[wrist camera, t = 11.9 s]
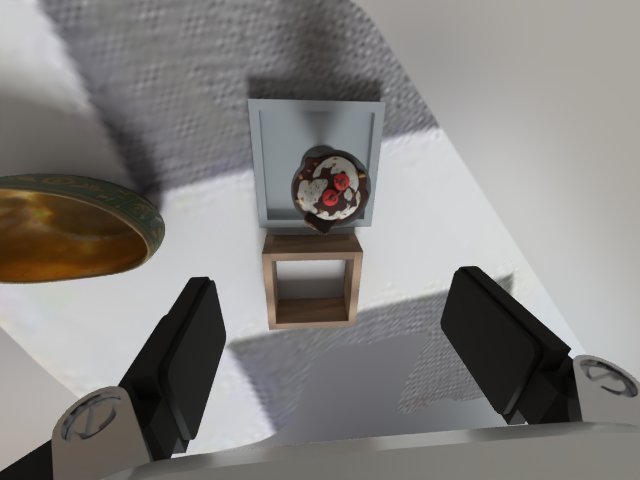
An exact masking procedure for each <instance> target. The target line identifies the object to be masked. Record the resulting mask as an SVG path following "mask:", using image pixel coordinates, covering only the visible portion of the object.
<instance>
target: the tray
mask: <svg viewBox="0 0 640 480" xmlns="http://www.w3.org/2000/svg"><path fill="white" fill-rule="evenodd" d="M385 105H386V102H357V101H317V100H277V99H248V108H249V119H250V130H251V141H252V151H253V162H254V173H255V184H256V194H257V205H258V216H259V227H260V228H292V227H310V226H309V225H308V224H306V223H305V222H304V219H303V218H302V217H301V216H300V215H299V213H298V212H297V210H296V208H295V207H294V204H293V200H292V196H291V183H292V179H293V176H294V174H295V172H296V171H297V169H298V168H299V167H300V166H301V161H302V158H303V156H304V155H305V154H306V152H307V151H308V150H310V149H311V148H313V147H316V146H328V147H331V148H332V149H334V150H342V151H346V152H348V153H350V154H352V155H353V156H355V157H356V158H357V159H358V160H359V161H360V162H361V163H362V164H363V165H364V167H365V168H366V170H367V172H368V174H369V177H370V181H371V194H370V198H369V200H368V203H367V205H366V207H365V209H364V211H363V212H362V214H361V215H360V216H359V217H358V218H357V219H356V220H355V221H353V222H352V223H350V224H348V225H346V226H344V227H370V226H371V222H372V214H373V206H374V197H375V189H376V180H377V172H378V163H379V155H380V147H381V138H382V130H383V121H384V113H385Z"/></svg>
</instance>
